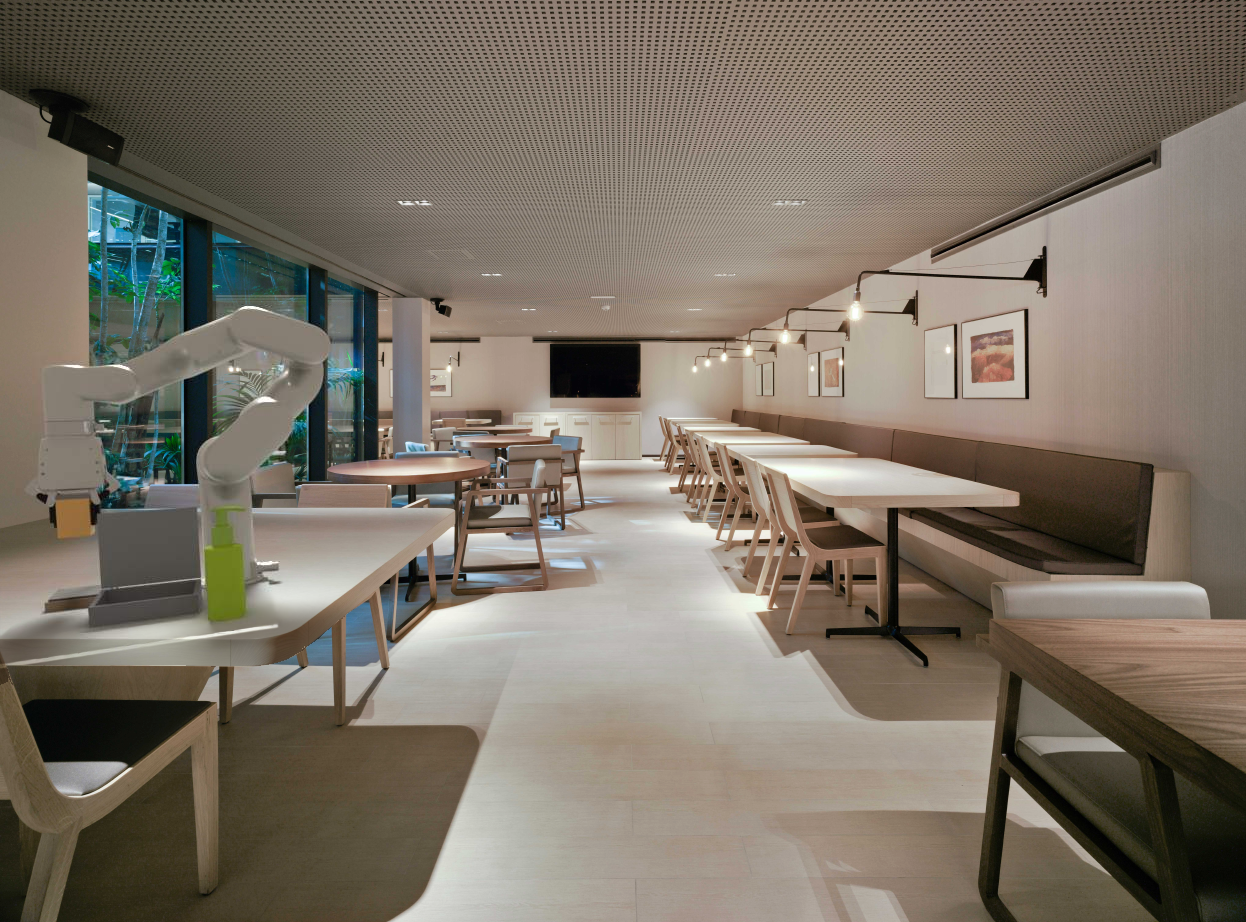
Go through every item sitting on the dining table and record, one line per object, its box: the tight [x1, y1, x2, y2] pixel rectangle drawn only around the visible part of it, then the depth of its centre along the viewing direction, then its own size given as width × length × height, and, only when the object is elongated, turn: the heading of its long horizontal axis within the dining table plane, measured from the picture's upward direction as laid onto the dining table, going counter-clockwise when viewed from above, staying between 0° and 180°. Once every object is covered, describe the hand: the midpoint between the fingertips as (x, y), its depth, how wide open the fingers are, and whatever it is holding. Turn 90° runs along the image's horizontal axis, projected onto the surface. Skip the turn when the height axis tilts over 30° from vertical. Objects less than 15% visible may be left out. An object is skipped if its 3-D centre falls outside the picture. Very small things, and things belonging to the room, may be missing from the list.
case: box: [87, 578, 203, 629], centre depth 130 cm, size 16×14×4 cm
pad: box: [44, 584, 119, 613], centre depth 138 cm, size 10×10×3 cm
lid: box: [96, 506, 202, 589], centre depth 137 cm, size 16×14×1 cm
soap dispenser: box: [203, 506, 247, 622], centre depth 125 cm, size 6×7×20 cm
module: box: [55, 491, 96, 539], centre depth 136 cm, size 5×5×8 cm
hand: (76, 524), depth 136 cm, fingers closed on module, 5 cm apart
